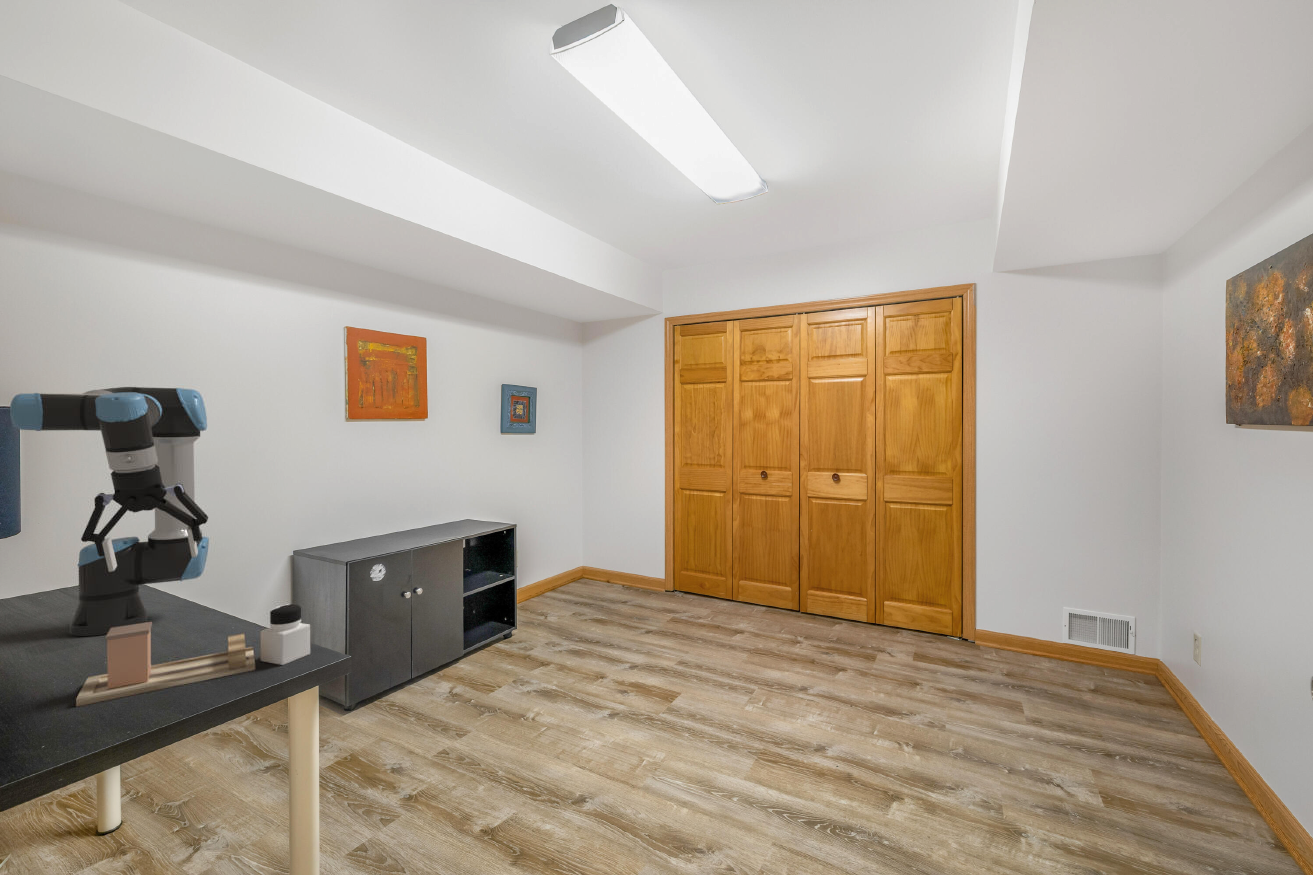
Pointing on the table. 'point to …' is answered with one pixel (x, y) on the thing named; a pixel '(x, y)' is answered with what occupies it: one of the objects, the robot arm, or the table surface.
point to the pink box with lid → (129, 654)
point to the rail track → (175, 673)
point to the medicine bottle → (285, 636)
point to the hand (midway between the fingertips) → (155, 561)
